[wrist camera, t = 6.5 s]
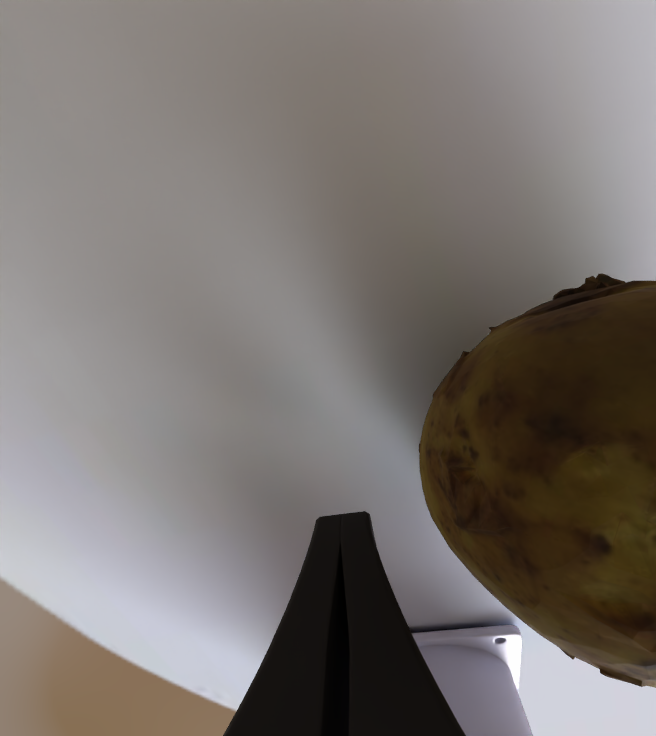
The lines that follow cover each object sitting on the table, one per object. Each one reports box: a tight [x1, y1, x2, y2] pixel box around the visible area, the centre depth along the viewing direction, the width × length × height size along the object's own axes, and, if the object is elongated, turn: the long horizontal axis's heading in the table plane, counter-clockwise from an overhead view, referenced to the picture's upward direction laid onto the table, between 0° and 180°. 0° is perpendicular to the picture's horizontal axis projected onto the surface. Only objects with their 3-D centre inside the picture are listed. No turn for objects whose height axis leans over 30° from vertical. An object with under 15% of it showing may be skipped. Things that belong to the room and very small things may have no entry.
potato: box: [419, 274, 656, 688], centre depth 9 cm, size 8×13×8 cm, turn 13°
